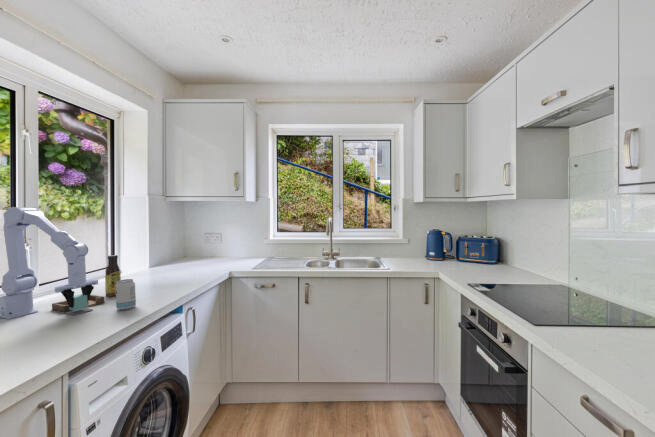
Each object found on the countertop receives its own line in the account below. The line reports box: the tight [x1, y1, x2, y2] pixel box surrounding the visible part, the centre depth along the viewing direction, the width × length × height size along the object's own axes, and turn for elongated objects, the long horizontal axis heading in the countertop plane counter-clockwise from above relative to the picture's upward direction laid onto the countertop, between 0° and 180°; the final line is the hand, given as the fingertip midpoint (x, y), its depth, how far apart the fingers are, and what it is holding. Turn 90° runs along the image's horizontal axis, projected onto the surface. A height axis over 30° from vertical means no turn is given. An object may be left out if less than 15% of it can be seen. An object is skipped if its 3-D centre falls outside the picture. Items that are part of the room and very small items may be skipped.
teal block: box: [69, 293, 89, 310], centre depth 127 cm, size 4×4×5 cm
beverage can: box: [115, 278, 137, 311], centre depth 131 cm, size 7×7×12 cm
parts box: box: [51, 294, 105, 314], centre depth 135 cm, size 15×10×3 cm, turn 155°
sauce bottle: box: [104, 254, 122, 297], centre depth 152 cm, size 7×6×20 cm
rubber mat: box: [63, 307, 94, 317], centre depth 127 cm, size 7×7×1 cm
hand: (78, 305), depth 127 cm, fingers closed on teal block, 4 cm apart
